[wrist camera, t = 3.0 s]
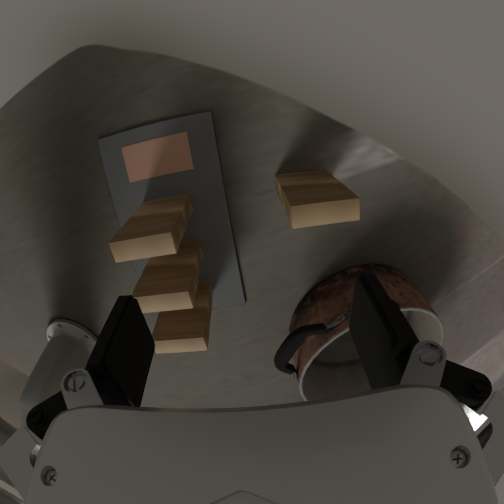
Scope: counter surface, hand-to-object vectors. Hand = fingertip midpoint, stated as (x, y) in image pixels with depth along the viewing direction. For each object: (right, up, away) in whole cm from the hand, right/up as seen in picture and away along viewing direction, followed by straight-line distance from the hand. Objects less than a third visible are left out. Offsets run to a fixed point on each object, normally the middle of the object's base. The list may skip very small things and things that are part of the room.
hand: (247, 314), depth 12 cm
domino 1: (-10, +8, +22) cm, 25 cm away
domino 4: (+6, +11, +21) cm, 25 cm away
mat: (-9, +6, +24) cm, 26 cm away
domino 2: (-9, +3, +25) cm, 26 cm away
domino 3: (-8, -2, +27) cm, 29 cm away
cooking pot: (+17, -9, +33) cm, 38 cm away
